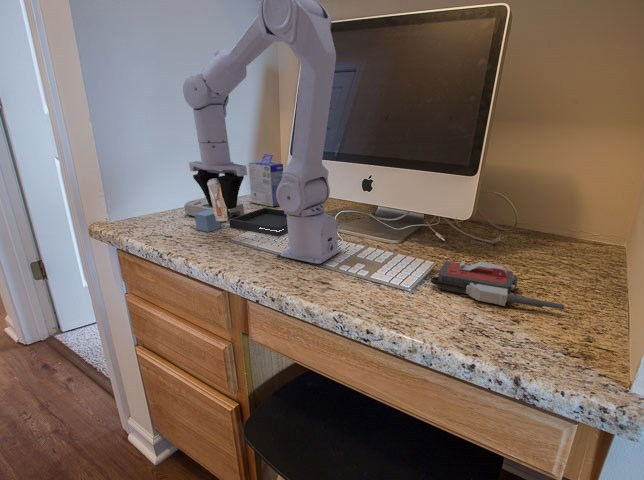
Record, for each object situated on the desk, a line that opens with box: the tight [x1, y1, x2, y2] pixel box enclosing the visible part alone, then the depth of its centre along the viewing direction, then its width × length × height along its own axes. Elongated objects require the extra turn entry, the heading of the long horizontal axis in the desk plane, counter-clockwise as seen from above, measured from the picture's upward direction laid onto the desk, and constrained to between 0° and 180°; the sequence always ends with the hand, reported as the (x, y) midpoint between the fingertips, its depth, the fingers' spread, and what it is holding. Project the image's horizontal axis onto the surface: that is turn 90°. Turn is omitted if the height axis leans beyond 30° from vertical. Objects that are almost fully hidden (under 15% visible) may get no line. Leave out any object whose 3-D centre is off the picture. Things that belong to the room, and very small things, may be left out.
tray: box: [228, 207, 288, 237], centre depth 95 cm, size 15×13×2 cm
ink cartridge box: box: [247, 153, 284, 208], centre depth 112 cm, size 10×6×14 cm, turn 57°
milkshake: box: [207, 178, 232, 222], centre depth 81 cm, size 4×5×10 cm
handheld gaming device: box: [183, 196, 245, 217], centre depth 101 cm, size 9×15×4 cm, turn 57°
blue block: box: [193, 210, 222, 233], centre depth 90 cm, size 4×4×4 cm
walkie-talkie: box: [430, 260, 566, 310], centre depth 60 cm, size 9×4×20 cm
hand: (223, 206), depth 82 cm, fingers closed on milkshake, 5 cm apart
